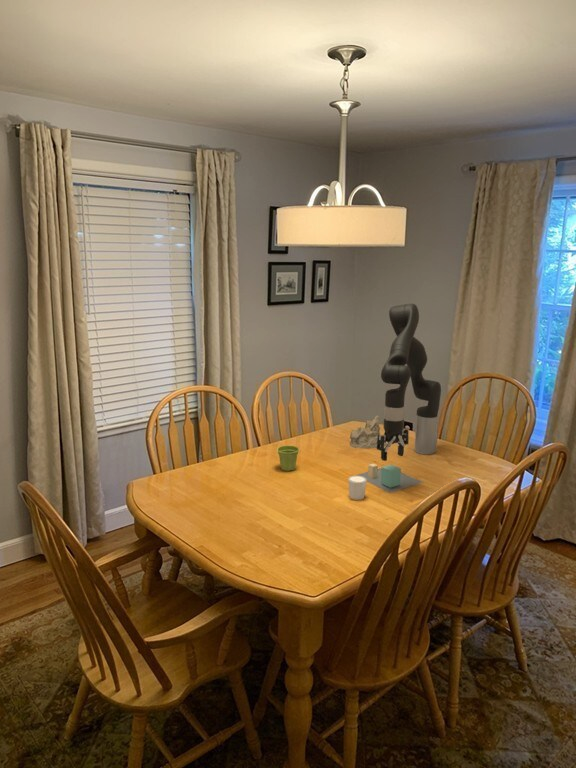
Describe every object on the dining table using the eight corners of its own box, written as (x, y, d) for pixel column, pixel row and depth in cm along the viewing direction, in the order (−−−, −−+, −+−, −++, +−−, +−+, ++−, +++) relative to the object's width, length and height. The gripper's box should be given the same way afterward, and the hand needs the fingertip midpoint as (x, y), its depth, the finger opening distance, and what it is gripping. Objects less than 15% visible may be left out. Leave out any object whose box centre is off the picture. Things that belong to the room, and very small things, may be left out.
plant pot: (273, 470, 233) (273, 451, 231) (282, 463, 241) (282, 444, 239) (294, 474, 230) (294, 454, 228) (302, 466, 238) (302, 447, 236)
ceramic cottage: (383, 438, 274) (382, 408, 271) (382, 450, 259) (381, 419, 255) (351, 438, 277) (350, 409, 274) (348, 450, 262) (347, 420, 258)
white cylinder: (367, 494, 211) (368, 476, 209) (364, 501, 205) (364, 483, 203) (349, 491, 213) (350, 474, 212) (345, 498, 207) (346, 481, 205)
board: (387, 468, 236) (388, 455, 235) (423, 484, 220) (424, 470, 219) (354, 477, 226) (355, 463, 225) (389, 495, 210) (390, 480, 209)
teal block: (390, 480, 220) (391, 464, 219) (400, 484, 216) (401, 468, 214) (380, 483, 217) (381, 467, 216) (390, 487, 213) (391, 471, 212)
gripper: (400, 411, 217) (398, 451, 221) (373, 418, 209) (371, 458, 213) (414, 416, 211) (412, 457, 215) (387, 423, 203) (385, 465, 207)
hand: (392, 457), depth 214 cm, fingers open, 8 cm apart
